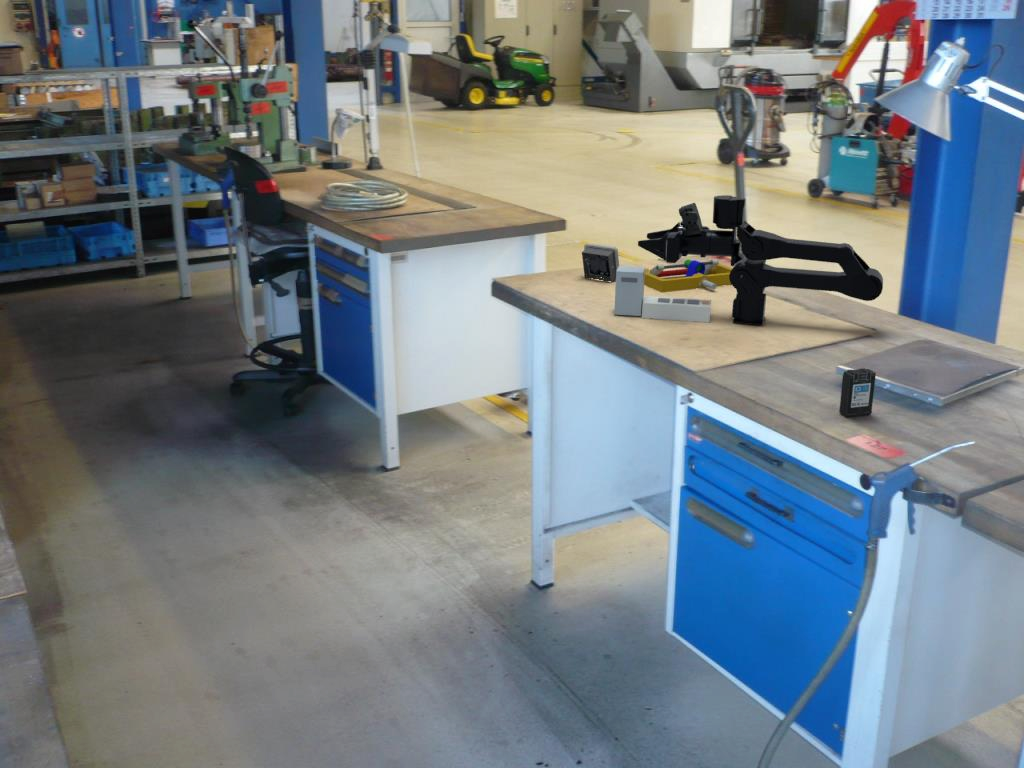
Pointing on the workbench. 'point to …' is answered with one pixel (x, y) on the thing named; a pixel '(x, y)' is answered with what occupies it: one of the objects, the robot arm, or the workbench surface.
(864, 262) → the robot arm
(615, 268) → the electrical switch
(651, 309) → the power strip
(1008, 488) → the workbench surface
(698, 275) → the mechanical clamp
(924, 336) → the workbench surface
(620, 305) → the charger
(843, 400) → the ink cartridge
